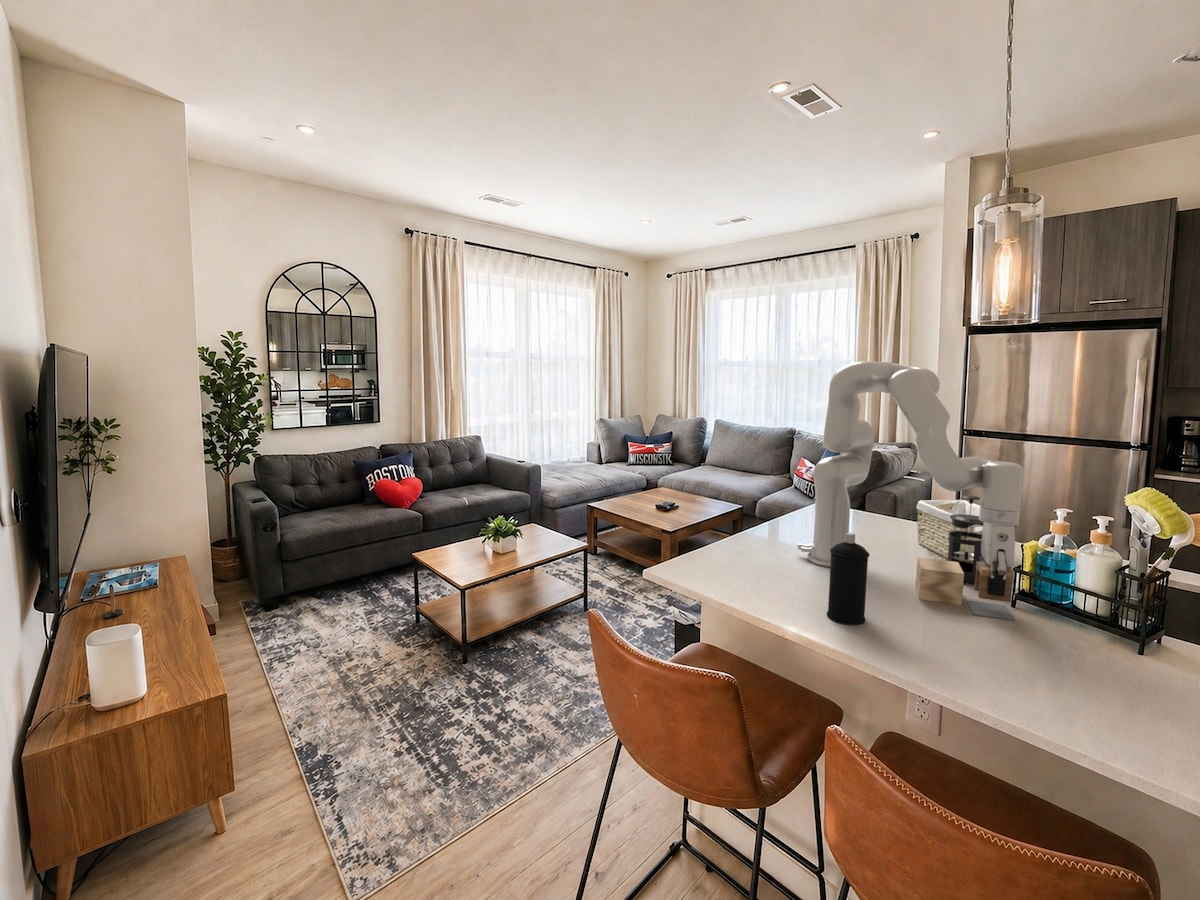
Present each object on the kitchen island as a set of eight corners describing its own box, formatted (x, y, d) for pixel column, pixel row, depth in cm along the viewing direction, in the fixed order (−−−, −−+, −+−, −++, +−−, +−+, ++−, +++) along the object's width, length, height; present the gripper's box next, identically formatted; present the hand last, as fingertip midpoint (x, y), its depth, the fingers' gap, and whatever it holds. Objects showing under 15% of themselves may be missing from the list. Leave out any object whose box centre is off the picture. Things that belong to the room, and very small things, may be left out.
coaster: (972, 614, 129) (972, 613, 129) (966, 601, 136) (966, 600, 136) (1014, 620, 126) (1014, 619, 126) (1005, 607, 133) (1006, 605, 133)
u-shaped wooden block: (1010, 602, 126) (1013, 573, 125) (979, 598, 129) (981, 569, 128) (1004, 592, 132) (1006, 564, 131) (974, 589, 134) (976, 561, 133)
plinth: (918, 599, 138) (921, 568, 137) (915, 586, 146) (917, 557, 145) (961, 605, 134) (964, 573, 133) (955, 591, 142) (958, 562, 141)
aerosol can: (862, 628, 122) (868, 541, 120) (823, 620, 127) (827, 535, 124) (867, 614, 129) (872, 532, 127) (829, 607, 134) (834, 527, 131)
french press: (995, 585, 146) (1003, 500, 143) (958, 585, 146) (966, 500, 143) (967, 569, 158) (974, 491, 154) (933, 569, 158) (940, 491, 155)
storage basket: (911, 542, 184) (914, 498, 182) (960, 542, 184) (964, 498, 181) (956, 567, 160) (960, 518, 158) (1013, 567, 160) (1018, 517, 158)
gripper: (1029, 526, 118) (1021, 606, 121) (1009, 508, 134) (1002, 579, 136) (987, 522, 121) (980, 601, 124) (972, 505, 137) (966, 575, 139)
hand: (992, 589), depth 130 cm, fingers closed on u-shaped wooden block, 6 cm apart
